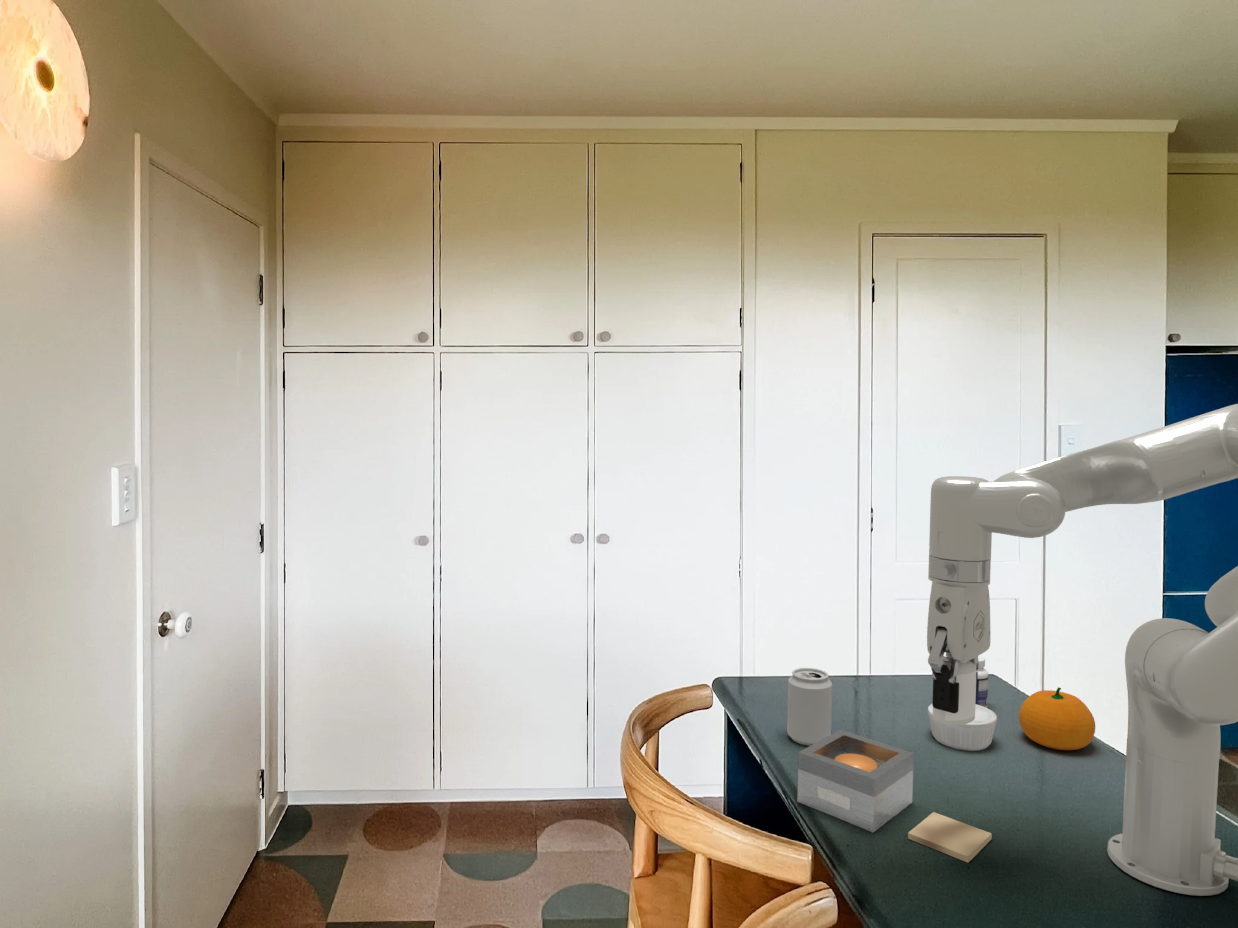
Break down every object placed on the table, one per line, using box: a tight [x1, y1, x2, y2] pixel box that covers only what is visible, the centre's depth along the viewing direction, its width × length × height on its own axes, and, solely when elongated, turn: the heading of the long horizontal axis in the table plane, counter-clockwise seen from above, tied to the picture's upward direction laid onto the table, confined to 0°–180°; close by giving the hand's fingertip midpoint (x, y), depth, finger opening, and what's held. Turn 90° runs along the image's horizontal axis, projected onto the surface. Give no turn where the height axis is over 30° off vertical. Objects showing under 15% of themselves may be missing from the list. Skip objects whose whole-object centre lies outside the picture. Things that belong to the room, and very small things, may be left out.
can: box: [786, 667, 833, 747], centre depth 138 cm, size 8×8×12 cm
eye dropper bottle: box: [933, 652, 976, 725], centre depth 105 cm, size 4×6×12 cm
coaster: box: [907, 811, 993, 863], centre depth 106 cm, size 8×8×1 cm
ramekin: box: [927, 703, 998, 752], centre depth 138 cm, size 11×11×5 cm
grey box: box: [797, 729, 915, 833], centre depth 116 cm, size 12×12×8 cm
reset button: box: [835, 753, 877, 772], centre depth 116 cm, size 6×6×6 cm
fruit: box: [1018, 686, 1096, 751], centre depth 138 cm, size 12×12×10 cm
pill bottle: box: [975, 655, 989, 708], centre depth 154 cm, size 5×5×10 cm
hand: (954, 702), depth 105 cm, fingers closed on eye dropper bottle, 5 cm apart
